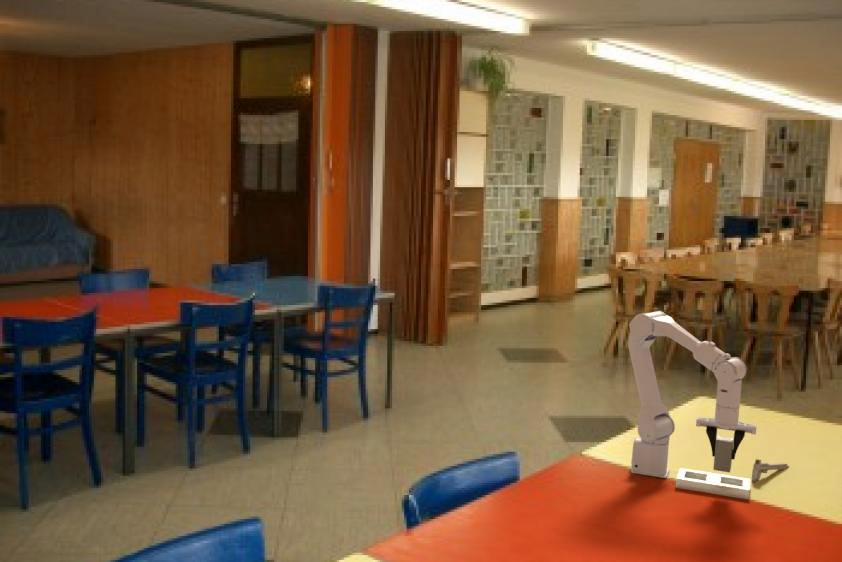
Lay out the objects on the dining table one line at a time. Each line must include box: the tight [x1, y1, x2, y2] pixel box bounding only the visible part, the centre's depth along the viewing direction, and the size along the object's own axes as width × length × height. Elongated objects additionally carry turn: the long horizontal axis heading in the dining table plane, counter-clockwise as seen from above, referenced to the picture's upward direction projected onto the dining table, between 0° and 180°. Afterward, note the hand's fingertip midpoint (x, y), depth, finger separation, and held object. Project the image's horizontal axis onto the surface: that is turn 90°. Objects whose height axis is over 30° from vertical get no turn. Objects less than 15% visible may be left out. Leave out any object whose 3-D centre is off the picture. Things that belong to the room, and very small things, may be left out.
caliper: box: [751, 458, 790, 483], centre depth 243 cm, size 20×1×6 cm, turn 133°
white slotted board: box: [675, 467, 752, 500], centre depth 231 cm, size 18×9×2 cm, turn 68°
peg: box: [713, 435, 734, 473], centre depth 226 cm, size 4×4×8 cm
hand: (723, 456), depth 227 cm, fingers closed on peg, 4 cm apart
